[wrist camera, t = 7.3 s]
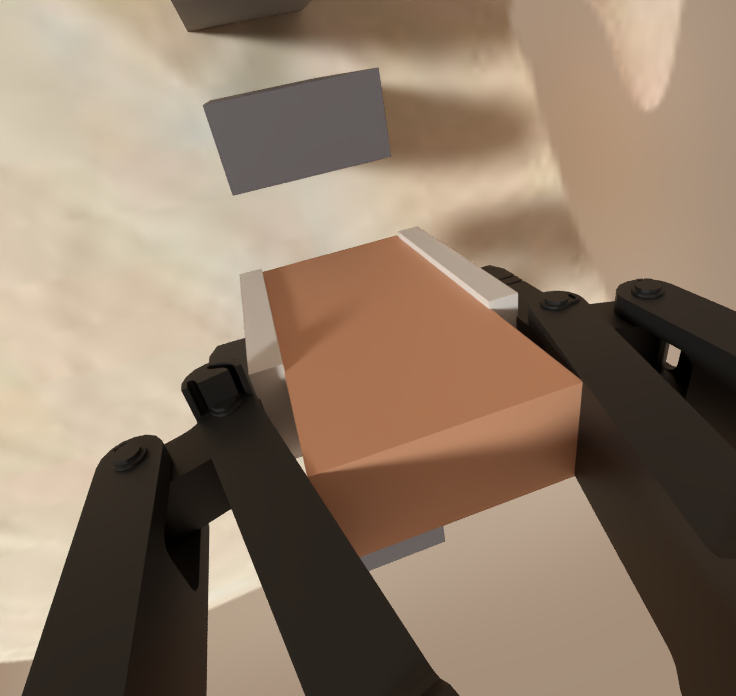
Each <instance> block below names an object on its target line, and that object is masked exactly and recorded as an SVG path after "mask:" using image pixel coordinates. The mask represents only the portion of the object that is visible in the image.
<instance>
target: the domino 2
mask: <svg viewBox="0 0 736 696" xmlns="http://www.w3.org/2000/svg"><path fill="white" fill-rule="evenodd" d="M203 107H204V110H205V113H206V116H207V119H208V122H209V125H210V128H211V131H212V134H213V137H214V140H215V143H216V146H217V149H218V152H219V156H220V159H221V162H222V165H223V168H224V171H225V174H226V177H227V180H228V183H229V186H230V189H231V192H232V195H233V196H234V195H238V194H242V193H246V192H250V191H254V190H258V189H262V188H266V187H270V186H274V185H278V184H282V183H286V182H291V181H295V180H299V179H303V178H307V177H311V176H315V175H319V174H323V173H327V172H331V171H335V170H339V169H343V168H347V167H351V166H356V165H360V164H364V163H368V162H372V161H376V160H380V159H384V158H388V157H391V153H390V146H389V138H388V131H387V124H386V117H385V110H384V103H383V96H382V89H381V81H380V74H379V68H373V69H367V70H361V71H355V72H349V73H343V74H337V75H331V76H325V77H319V78H314V79H309V80H304V81H299V82H295V83H290V84H285V85H281V86H276V87H271V88H267V89H262V90H257V91H253V92H248V93H243V94H238V95H234V96H229V97H224V98H220V99H215V100H210V101H209V102H207V103H205V104H204V105H203Z"/></svg>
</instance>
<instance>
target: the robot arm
mask: <svg viewBox="0 0 736 696" xmlns="http://www.w3.org/2000/svg"><path fill="white" fill-rule="evenodd" d="M398 235H399V238H400V239H401V240H403V241H404V242H405V243H406V244H408V245H409V246H410V247H412V248H413V249H414V250H415V251H417V252H418V253H419V254H420V255H422V256H423V257H424V258H425V259H427V260H428V261H429V262H430V263H432V264H433V265H434V266H435V267H437V268H438V269H439V270H440V271H442V272H443V273H444V274H446V275H447V276H448V277H449V278H451V279H452V280H453V281H454V282H456V283H457V284H458V285H459V286H461V287H462V288H463V289H464V290H466V291H467V292H468V293H469V294H471V295H472V296H473V297H475V298H476V299H477V300H478V301H480V302H481V303H482V304H483V305H485V306H486V307H487V308H488V309H491V310H493V311H494V312H495V313H496V314H498V315H499V316H500V317H501V318H503V319H504V320H505V321H507V322H508V323H509V324H510V325H512V326H513V327H514V328H516V329H517V330H518V331H519V332H521V333H522V334H523V335H524V336H526V337H527V338H528V339H530V340H531V341H532V342H533V343H535V344H536V345H537V346H538V347H540V348H541V349H542V350H544V351H545V352H546V353H547V354H549V355H550V356H551V357H552V358H554V359H555V360H556V361H558V362H559V363H560V364H561V365H563V366H564V367H565V368H567V369H568V370H569V371H570V372H572V373H573V374H574V375H575V376H577V377H578V378H579V379H581V381H582V382H583V384H582V395H581V406H580V417H579V428H578V439H577V450H576V461H575V471H574V475H575V477H576V478H577V480H578V482H579V484H580V486H581V488H582V490H583V491H584V493H585V495H586V497H587V499H588V501H589V502H590V504H591V506H592V508H593V510H594V512H595V514H596V515H597V517H598V519H599V521H600V523H601V525H602V527H603V528H604V530H605V532H606V534H607V536H608V537H609V539H610V541H611V543H612V545H613V547H614V549H615V550H616V552H617V554H618V556H619V558H620V560H621V561H622V563H623V565H624V567H625V569H626V571H627V573H628V574H629V576H630V578H631V580H632V582H633V584H634V585H635V587H636V589H637V591H638V593H639V595H640V597H641V598H642V600H643V602H644V604H645V606H646V608H647V609H648V611H649V613H650V615H651V617H652V619H653V620H654V622H655V624H656V626H657V628H658V630H659V631H660V633H661V635H662V637H663V639H664V641H665V643H666V644H667V646H668V648H669V650H670V652H671V655H672V657H673V660H674V662H675V665H676V670H677V675H678V680H679V685H680V690H681V693H682V696H736V311H733V310H731V309H729V308H726V307H724V306H722V305H720V304H717V303H715V302H713V301H710V300H708V299H706V298H703V297H701V296H698V295H696V294H693V293H691V292H689V291H687V290H684V289H682V288H680V287H677V286H675V285H672V284H670V283H667V282H663V281H659V280H653V279H636V280H632V281H627V282H625V283H623V284H621V285H619V286H618V288H617V289H616V297H615V301H612V302H604V303H596V304H589V303H588V302H587V301H586V300H585V299H584V298H582V297H581V296H579V295H577V294H574V293H571V292H566V291H549V292H544V293H543V292H541V291H540V290H538V289H536V288H535V287H533V286H532V285H530V284H528V283H527V282H525V281H522V279H520V278H518V277H517V276H514V274H512V273H510V272H509V271H507V270H505V269H503V268H499V267H495V266H491V265H489V266H485V267H482V268H480V267H478V266H477V265H475V264H474V263H472V262H471V261H469V260H468V259H466V258H465V257H463V256H462V255H460V254H459V253H457V252H456V251H454V250H453V249H451V248H450V247H448V246H447V245H445V244H444V243H442V242H441V241H439V240H438V239H436V238H434V237H433V236H431V235H430V234H428V233H427V232H425V231H424V230H422V229H421V228H419V227H418V226H417V227H413V228H410V229H406V230H402V231H399V232H398ZM240 285H241V296H242V307H243V318H244V330H245V338H243V339H240V340H236V341H233V342H229V343H226V344H223V345H219V346H217V347H216V348H215V350H214V351H213V353H212V354H211V356H210V358H209V363H208V364H205V365H203V366H201V367H199V368H197V369H195V370H194V371H193V372H192V373H190V374H189V375H188V376H187V377H186V378H185V380H184V381H183V383H182V386H181V391H182V393H183V395H184V397H185V399H186V401H187V403H188V405H189V407H190V409H191V411H192V412H193V414H194V416H195V418H196V420H197V424H196V425H195V426H194V427H193V428H192V429H190V430H189V431H187V432H186V433H184V434H183V435H181V436H179V437H177V438H175V439H173V440H172V441H170V442H168V443H166V444H164V443H163V442H162V440H161V439H160V438H158V437H157V436H154V435H143V436H138V437H134V438H131V439H129V440H127V441H124V442H122V443H120V444H118V446H116V447H114V448H113V449H112V450H110V451H109V452H108V453H107V454H106V455H105V456H104V457H103V458H102V459H101V461H100V463H99V464H98V466H97V468H96V470H95V473H94V476H93V479H92V482H91V486H90V489H89V492H88V495H87V498H86V501H85V504H84V507H83V510H82V513H81V516H80V519H79V522H78V525H77V528H76V531H75V534H74V537H73V540H72V544H71V547H70V550H69V553H68V556H67V559H66V562H65V565H64V568H63V571H62V574H61V577H60V580H59V583H58V586H57V589H56V592H55V595H54V599H53V602H52V605H51V608H50V611H49V614H48V617H47V620H46V623H45V626H44V629H43V632H42V635H41V638H40V641H39V644H38V647H37V650H36V653H35V657H34V660H33V663H32V666H31V669H30V672H29V675H28V678H27V681H26V684H25V687H24V690H23V693H22V696H206V690H207V631H208V629H207V628H208V575H209V524H208V523H210V522H211V521H213V520H214V519H216V518H217V517H219V516H221V515H222V514H224V513H225V512H227V511H229V510H230V509H232V511H233V514H234V517H235V519H236V522H237V524H238V527H239V529H240V532H241V534H242V537H243V539H244V542H245V544H246V547H247V549H248V552H249V554H250V557H251V559H252V562H253V565H254V567H255V570H256V572H257V575H258V577H259V580H260V582H261V585H262V587H263V590H264V592H265V595H266V597H267V600H268V602H269V605H270V607H271V610H272V613H273V615H274V617H275V620H276V622H277V625H278V628H279V630H280V633H281V635H282V638H283V640H284V643H285V645H286V648H287V650H288V653H289V656H290V658H291V661H292V663H293V666H294V668H295V671H296V673H297V676H298V678H299V681H300V683H301V686H302V688H303V691H304V693H305V696H459V694H458V693H457V692H456V691H455V690H454V689H453V688H452V686H451V685H450V684H448V683H447V682H445V681H444V680H442V679H440V678H439V676H438V675H437V674H436V673H435V672H434V671H433V669H432V668H431V666H430V665H429V663H428V662H427V660H426V659H425V657H424V656H423V654H422V653H421V651H420V650H419V648H418V647H417V645H416V643H415V642H414V640H413V639H412V637H411V636H410V634H409V633H408V631H407V629H406V628H405V627H404V625H403V623H402V622H401V620H400V619H399V617H398V616H397V614H396V613H395V611H394V610H393V608H392V606H391V605H390V603H389V602H388V600H387V599H386V597H385V596H384V594H383V593H382V591H381V589H380V588H379V587H378V585H377V583H376V582H375V580H374V579H373V577H372V576H371V574H370V573H369V571H368V569H367V568H366V566H365V565H364V563H363V562H362V560H361V559H360V557H359V556H358V554H357V553H356V551H355V549H354V548H353V546H352V545H351V543H350V542H349V540H348V539H347V537H346V536H345V534H344V533H343V531H342V529H341V528H340V526H339V525H338V523H337V522H336V520H335V519H334V517H333V516H332V514H331V513H330V511H329V509H328V508H327V506H326V505H325V503H324V502H323V500H322V499H321V497H320V496H319V494H318V493H317V491H316V489H315V488H314V486H313V485H312V483H311V482H310V480H309V479H308V477H307V476H306V474H305V473H304V471H303V469H302V468H301V466H300V465H299V463H298V462H297V460H296V458H299V457H302V456H303V455H302V450H301V446H300V441H299V437H298V432H297V428H296V423H295V419H294V414H293V410H292V405H291V401H290V396H289V392H288V387H287V383H286V378H285V374H284V372H285V370H284V365H283V361H282V356H281V352H280V347H279V343H278V338H277V334H276V329H275V325H274V320H273V316H272V311H271V307H270V302H269V298H268V293H267V289H266V284H265V280H264V276H263V272H262V269H258V270H255V271H251V272H247V273H244V274H240ZM669 344H671V345H673V346H675V347H676V348H678V349H680V350H681V353H680V357H679V361H678V365H677V367H674V366H672V365H670V364H669V363H667V362H666V359H667V354H668V349H669Z"/></svg>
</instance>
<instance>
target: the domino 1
mask: <svg viewBox="0 0 736 696" xmlns="http://www.w3.org/2000/svg"><path fill="white" fill-rule="evenodd" d="M171 1H172V3H173V5H174V7H175V9H176V11H177V12H178V14H179V16H180V18H181V20H182V22H183V24H184V26H185V27H186V29H187V31H188V32H189V31H194V30H199V29H205V28H210V27H215V26H221V25H226V24H231V23H236V22H242V21H247V20H252V19H258V18H263V17H268V16H273V15H279V14H284V13H289V12H294V11H300V10H302V9H303V8H304V7H305V6H306V5H307V4H308V3H309V2H310V1H311V0H171Z"/></svg>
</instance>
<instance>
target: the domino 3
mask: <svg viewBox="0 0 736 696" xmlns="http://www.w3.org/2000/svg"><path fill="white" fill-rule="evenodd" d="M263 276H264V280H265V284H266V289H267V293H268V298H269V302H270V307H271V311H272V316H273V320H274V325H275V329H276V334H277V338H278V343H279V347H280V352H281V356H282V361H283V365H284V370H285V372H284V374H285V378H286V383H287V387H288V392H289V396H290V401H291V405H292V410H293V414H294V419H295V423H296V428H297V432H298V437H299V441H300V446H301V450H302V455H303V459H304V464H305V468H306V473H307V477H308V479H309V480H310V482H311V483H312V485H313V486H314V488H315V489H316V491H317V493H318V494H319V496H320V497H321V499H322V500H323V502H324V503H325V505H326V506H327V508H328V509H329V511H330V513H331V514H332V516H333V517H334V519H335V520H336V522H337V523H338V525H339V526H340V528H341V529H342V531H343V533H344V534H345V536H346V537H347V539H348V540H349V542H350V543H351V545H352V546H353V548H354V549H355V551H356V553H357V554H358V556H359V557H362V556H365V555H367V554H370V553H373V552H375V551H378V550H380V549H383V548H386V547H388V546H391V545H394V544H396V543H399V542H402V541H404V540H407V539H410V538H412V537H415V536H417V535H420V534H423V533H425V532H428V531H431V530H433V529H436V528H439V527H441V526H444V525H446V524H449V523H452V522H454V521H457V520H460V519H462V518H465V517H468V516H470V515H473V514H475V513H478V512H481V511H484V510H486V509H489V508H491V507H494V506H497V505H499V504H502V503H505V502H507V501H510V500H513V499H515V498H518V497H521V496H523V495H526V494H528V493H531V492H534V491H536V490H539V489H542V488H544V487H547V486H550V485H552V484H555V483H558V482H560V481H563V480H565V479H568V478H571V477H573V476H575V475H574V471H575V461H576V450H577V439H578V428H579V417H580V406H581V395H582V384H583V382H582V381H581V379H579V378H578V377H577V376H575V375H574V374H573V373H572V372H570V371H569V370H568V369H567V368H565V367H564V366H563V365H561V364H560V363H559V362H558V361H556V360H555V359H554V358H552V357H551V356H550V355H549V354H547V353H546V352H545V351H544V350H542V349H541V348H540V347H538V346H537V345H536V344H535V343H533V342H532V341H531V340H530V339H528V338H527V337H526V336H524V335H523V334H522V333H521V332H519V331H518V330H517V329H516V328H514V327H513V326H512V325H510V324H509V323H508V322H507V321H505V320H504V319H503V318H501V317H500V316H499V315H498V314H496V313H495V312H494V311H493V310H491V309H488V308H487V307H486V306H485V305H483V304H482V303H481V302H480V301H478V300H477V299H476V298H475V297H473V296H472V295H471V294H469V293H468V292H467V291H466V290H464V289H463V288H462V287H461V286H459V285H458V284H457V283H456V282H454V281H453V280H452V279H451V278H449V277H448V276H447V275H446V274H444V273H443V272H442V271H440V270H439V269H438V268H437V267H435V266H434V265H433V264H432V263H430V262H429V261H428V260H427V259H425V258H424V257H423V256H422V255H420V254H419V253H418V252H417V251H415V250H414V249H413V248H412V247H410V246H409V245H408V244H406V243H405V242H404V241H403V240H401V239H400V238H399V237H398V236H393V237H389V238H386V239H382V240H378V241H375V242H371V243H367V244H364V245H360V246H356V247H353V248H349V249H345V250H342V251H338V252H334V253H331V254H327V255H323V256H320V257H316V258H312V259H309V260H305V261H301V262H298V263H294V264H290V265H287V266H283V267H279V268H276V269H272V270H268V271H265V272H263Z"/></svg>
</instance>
